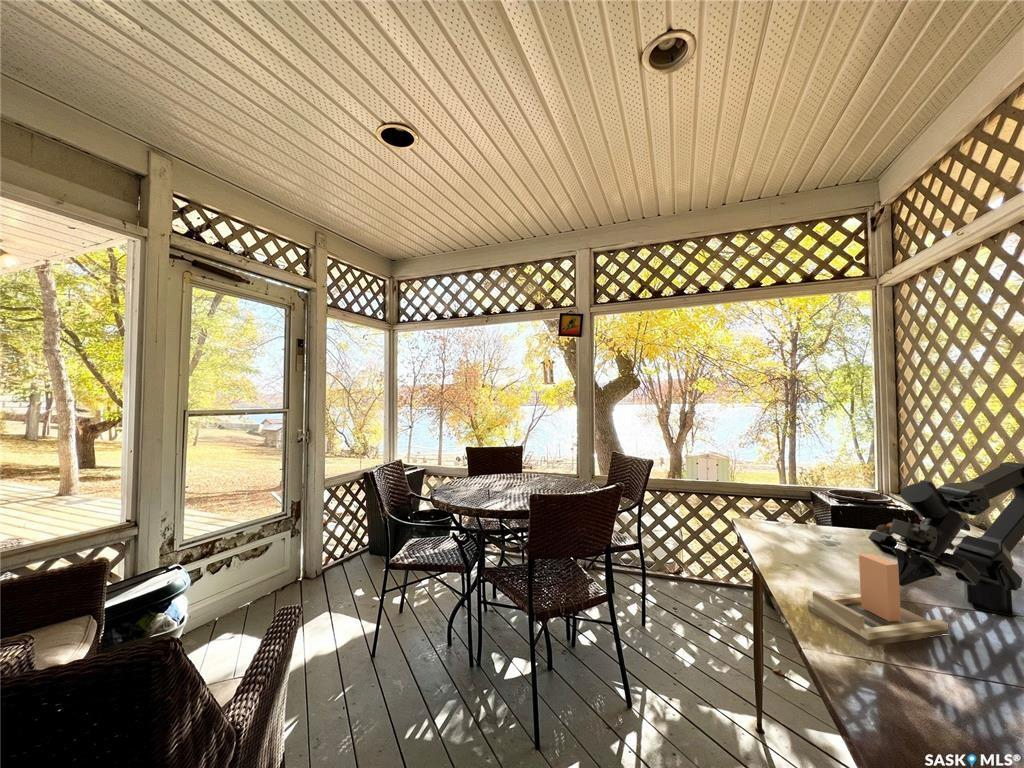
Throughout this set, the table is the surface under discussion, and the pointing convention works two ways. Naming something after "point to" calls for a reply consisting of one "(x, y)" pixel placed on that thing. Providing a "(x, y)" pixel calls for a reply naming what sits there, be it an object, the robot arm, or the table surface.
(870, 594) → the tall block
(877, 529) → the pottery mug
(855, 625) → the open-ended rail tray
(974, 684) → the table surface
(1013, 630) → the table surface
